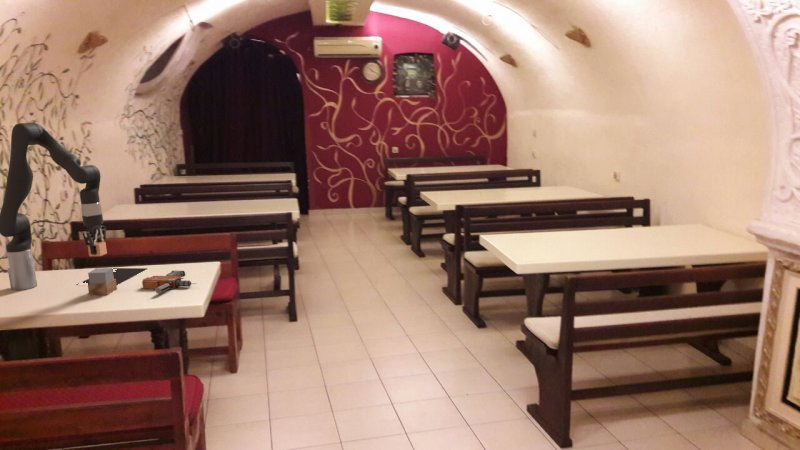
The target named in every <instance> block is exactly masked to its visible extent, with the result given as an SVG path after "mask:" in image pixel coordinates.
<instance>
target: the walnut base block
mask: <svg viewBox="0 0 800 450" xmlns="http://www.w3.org/2000/svg"><path fill="white" fill-rule="evenodd" d="M87 289H88V296H92V297H93V296H94V295H95V297H96V296H109V295H110V293H111V294H112V293H114V292H116V291H117V290H118V285H117V284H116V279H113V280H111V281H110V282H108V283H107V284H88V286H87ZM113 291H114V292H113Z"/></svg>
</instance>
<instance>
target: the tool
mask: <svg viewBox="0 0 800 450" xmlns="http://www.w3.org/2000/svg"><path fill="white" fill-rule="evenodd" d="M185 276H186V272H185V270H171V272H169V273H167V274H165V275H153V276H147V277H145V278H143V279H142V282H141V284H142V285H141V286H142V289H153V290H154V289H155V292H156V294H158V295H159V294H162V293H164V292H167V290H169V289H170V290H171V289H172V290H173V289H178V287H185V288H187V287H188V288H189V287H191V285H196V282H195V283H192V281H191V280H183V279H185V278H184V277H185Z"/></svg>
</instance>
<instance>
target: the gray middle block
mask: <svg viewBox="0 0 800 450" xmlns="http://www.w3.org/2000/svg"><path fill="white" fill-rule="evenodd" d="M112 268H113V267H101V268H99V267H98V268H94V269H93V270H91V271H89V272H88V273H87V275H88V279H89V282H90V284H107V283H108V282H110V281H111V280H113V279H114V276H113V269H112Z"/></svg>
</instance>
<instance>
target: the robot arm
mask: <svg viewBox="0 0 800 450" xmlns="http://www.w3.org/2000/svg"><path fill="white" fill-rule="evenodd" d="M10 136H11V137H10V138H11V139H10V158H9V165H8V172H7V176H6V182H5V183H6V184H5V189H4V190H5V191H4V197H3V201H2V206H1V209H0V235H1V236H2V237H4V238H9V237H12V239H11V241H10V242H9V243H8V244H6V246H5V249H6V255H7V260H8V266H9V267H8V268H7V273H8V280H9V284H10V285H9V286H10V290H15V291H23V290H29V289H32V288H33V289H34V288H35V287H37V286H38V281H37V275H36V274H37V273H36V270H35V263H34V257H33V252H32V241H33V238H32V227H31V222H30V220H29V217H28V216H27V215H25V214H24V213H21V212H19V210H20V208H21V206H22V204H23V203H24V202H25V201H26V198H27V197H28V196H29V194H30V192H31V191H32V186H33V182H34V181H33V180H34V173H33V170H32V167H31V165H30V164H29V162H28V158H27V156H28V155H27V153H28V147H29V146H40V147H42V148H44V149H45V150H46V151H48V153H49V156H50V158H51V160H52V161H53V162H54V163H55V164H57V166H59V167H60V168H61V169H63V170H64V171H66V173H67V174H68V176H69V177H70V178H71V179H72V181H73V182H74V183H77V184H81V185H82V184H85V187H84V188H82V189H81V190H79V198H80V204H81V205H80V211H81V217H82V224H83V226H85V227H86V231H85V232H84V231H83V232H82V237H83V240H84V245H85V246H86V247H88V246H90V251H91V254H92V255H96V254H97V250H96V246H95V245H96V242H105V240H107V226H106V225H103V224H104V218H103V216H104V215H103V209H102V206H101V199H100V194H99V191H100V187H101V185H100V184H101V177H102V176H101V172H100V170H99V167H97V166H96V165H94V164H93V165H92V164H89V165H83V166H82V164H81V163H82V162H81V159H80V158H79V157H77V156H76V154H74V153H72V152H71V151H70V150H68V149H66V148H65V147H64V146H62V144H61V143H59V142H58V141H57V140H56V139H55V138H54V136H53V135H51V134H50V133H49V132H48V131H47V129H46V128H44V127H43V125H40V124H39V123H36V122H22V123H21V122H20V123H16V124H15V125H14V126H13V127H12V130H11V135H10Z"/></svg>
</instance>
